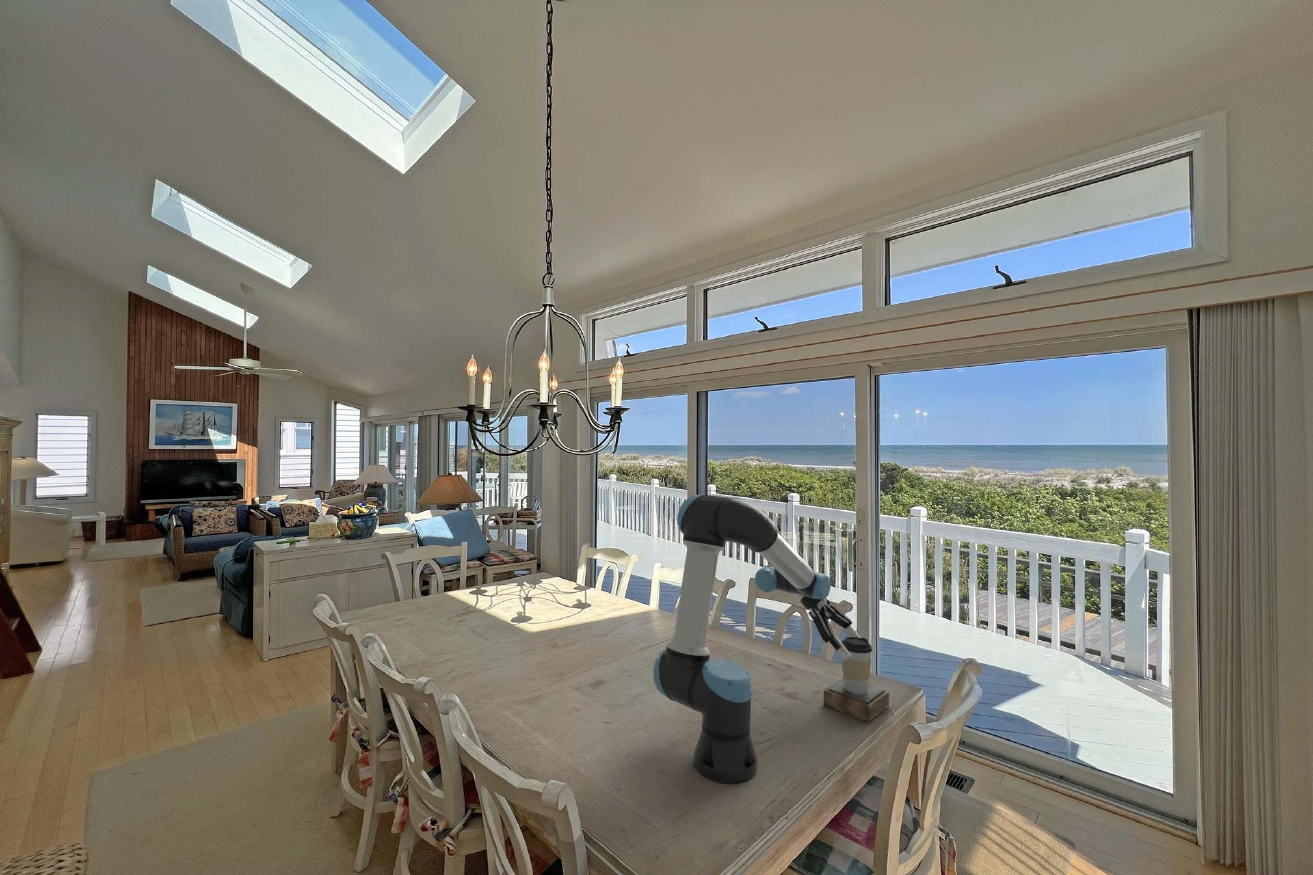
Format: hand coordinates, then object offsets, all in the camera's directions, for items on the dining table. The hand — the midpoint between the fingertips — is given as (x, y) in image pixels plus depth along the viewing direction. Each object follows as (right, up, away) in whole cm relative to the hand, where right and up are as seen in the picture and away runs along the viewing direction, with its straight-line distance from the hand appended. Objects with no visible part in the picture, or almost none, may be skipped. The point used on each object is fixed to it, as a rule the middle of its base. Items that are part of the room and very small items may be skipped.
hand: (855, 651), depth 162 cm
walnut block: (0, -16, -1) cm, 16 cm away
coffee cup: (0, -11, -1) cm, 11 cm away
